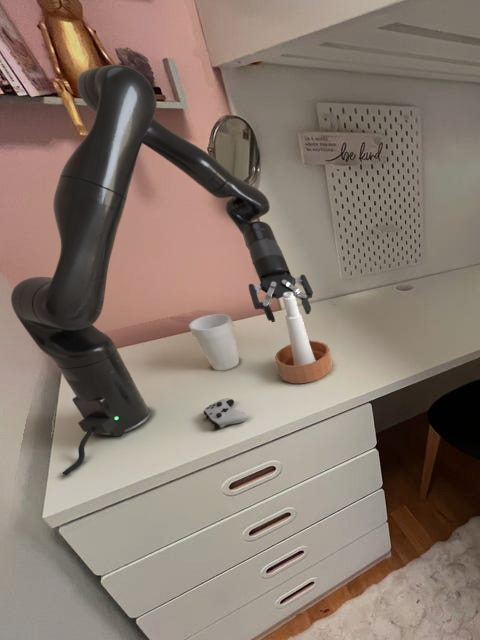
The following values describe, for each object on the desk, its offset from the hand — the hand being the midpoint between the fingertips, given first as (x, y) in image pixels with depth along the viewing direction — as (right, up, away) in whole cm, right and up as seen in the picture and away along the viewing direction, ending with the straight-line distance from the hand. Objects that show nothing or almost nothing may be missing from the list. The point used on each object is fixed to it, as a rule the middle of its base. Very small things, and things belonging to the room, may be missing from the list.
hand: (291, 317), depth 103 cm
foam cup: (-21, -12, +7) cm, 26 cm away
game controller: (-9, -24, -11) cm, 29 cm away
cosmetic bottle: (+2, -14, +5) cm, 15 cm away
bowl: (+2, -14, +6) cm, 15 cm away
